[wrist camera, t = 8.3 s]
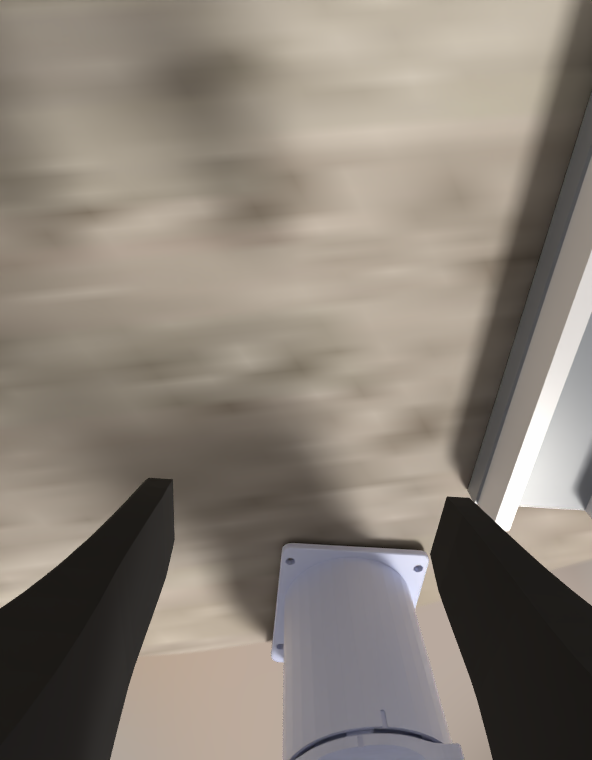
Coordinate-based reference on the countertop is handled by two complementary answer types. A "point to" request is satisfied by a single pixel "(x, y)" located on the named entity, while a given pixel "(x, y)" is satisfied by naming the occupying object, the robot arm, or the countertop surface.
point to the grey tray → (548, 370)
